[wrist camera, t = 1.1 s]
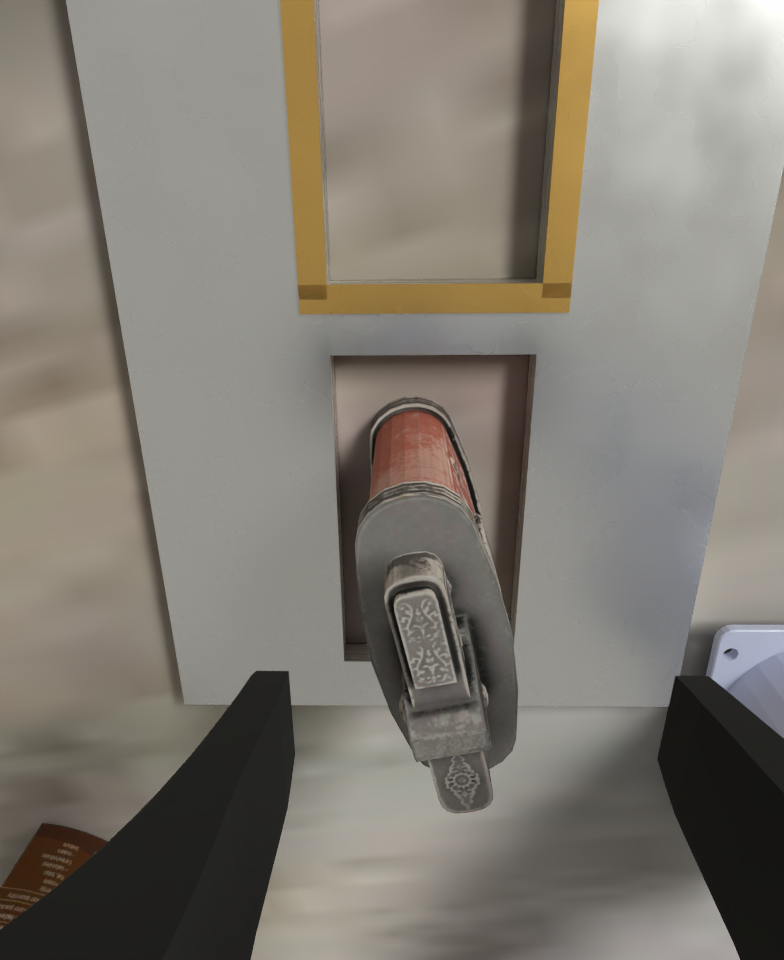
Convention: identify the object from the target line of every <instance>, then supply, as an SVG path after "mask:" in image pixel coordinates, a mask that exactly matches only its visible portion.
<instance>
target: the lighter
mask: <svg viewBox="0 0 784 960" xmlns="http://www.w3.org/2000/svg"><path fill="white" fill-rule="evenodd" d="M369 448H370V467H371V487H370V496H369V501H368V503H367V504H366V506H365V507H364V509H363V510H362V512H361V513H360V516H359V521H358V527H357V534H356V541H355V554H356V569H357V585H358V600H359V608H360V613H361V617H362V622H363V627H364V632H365V637H366V641H367V646H368V651H369V656H370V661H371V664H372V666H373V669H374V671H375V674H376V676H377V679H378V681H379V684H380V687H381V689H382V692H383V694H384V697H385V699H386V702H387V704H388V707H389V710H390V712H391V714H392V716H393V717H394V719H395V721H396V723H397V725H398V726H399V728H400V730H401V732H402V733H403V735H404V737H405V739H406V740H407V742H408V744H409V746H410V748H411V749H412V751H413V755H414V758H415V760H416V762H419V761H421V763H422V764H423V765H425V766H427V767H429V768H430V770H431V773H432V777H433V781H434V784H435V788H436V792H437V795H438V799H439V801H440V803H441V805H442V807H443V808H444V809H446V810H447V811H449V812H453V813H466V812H473V811H477V810H481V809H484V808H486V807H487V806H489V805H490V804H491V802H492V800H493V791H492V784H491V778H490V771H489V769H490V768H492V767H494V766H495V765H497V764H499V763H501V762H502V761H503V760H504V759H505V758H506V757H507V756H508V755H509V754H510V753H511V751H512V750H513V747H514V744H515V741H516V728H517V708H518V682H517V672H516V663H515V653H514V643H513V635H512V631H511V627H510V623H509V619H508V615H507V612H506V608H505V605H504V601H503V598H502V594H501V588H500V584H499V580H498V576H497V572H496V568H495V564H494V561H493V557H492V553H491V550H490V546H489V543H488V539H487V536H486V532H485V529H484V525H483V519H482V511H481V507H480V503H479V499H478V496H477V492H476V488H475V485H474V481H473V478H472V474H471V471H470V467H469V463H468V460H467V457H466V454H465V452H464V450H463V447H462V445H461V443H460V440H459V438H458V436H457V433H456V431H455V428H454V426H453V424H452V421H451V419H450V417H449V415H448V414H447V412H446V411H445V410H444V408H443V407H442V406H441V405H439V404H438V403H436V402H434V401H433V400H431V399H427V398H423V397H418V396H415V397H403V398H400V399H398V400H395V401H392V402H390V403H389V404H387V405H386V406H385V407H383V408H382V409H381V410H380V411H379V412H378V414H377V415H376V417H375V418H374V420H373V421H372V427H371V433H370V440H369Z"/></svg>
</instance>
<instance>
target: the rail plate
mask: <svg viewBox="0 0 784 960" xmlns="http://www.w3.org/2000/svg"><path fill="white" fill-rule="evenodd" d="M66 5H67V11H68V17H69V22H70V28H71V34H72V40H73V46H74V52H75V58H76V64H77V70H78V76H79V82H80V88H81V94H82V100H83V105H84V111H85V117H86V123H87V129H88V135H89V141H90V147H91V153H92V159H93V165H94V171H95V177H96V183H97V188H98V194H99V200H100V206H101V212H102V218H103V224H104V230H105V236H106V242H107V248H108V254H109V260H110V266H111V272H112V277H113V283H114V289H115V295H116V301H117V307H118V313H119V319H120V325H121V331H122V337H123V343H124V349H125V355H126V360H127V366H128V372H129V378H130V384H131V390H132V396H133V402H134V408H135V414H136V420H137V426H138V432H139V438H140V443H141V449H142V455H143V461H144V467H145V473H146V479H147V485H148V491H149V497H150V503H151V509H152V515H153V521H154V527H155V532H156V538H157V544H158V550H159V556H160V562H161V568H162V574H163V580H164V586H165V592H166V598H167V604H168V610H169V615H170V621H171V627H172V633H173V639H174V645H175V651H176V657H177V663H178V669H179V675H180V681H181V687H182V693H183V698H184V704H185V705H231V703H232V702H233V701H234V699H235V698H236V696H237V695H238V694H239V692H240V691H241V689H242V688H243V686H244V685H245V684H246V682H247V681H248V679H249V678H250V676H251V675H252V674H253V673H254V672H256V671H289V681H290V695H291V705H365V706H388V704H387V702H386V699H385V697H384V694H383V692H382V689H381V687H380V684H379V681H378V679H377V676H376V674H375V671H374V669H373V666H372V664H371V661H370V656H369V651H368V646H367V644H346V624H345V601H344V578H343V555H342V532H341V509H340V486H339V463H338V441H337V418H336V395H335V372H334V355H521V354H530V362H529V375H528V389H527V402H526V416H525V429H524V443H523V456H522V470H521V483H520V497H519V510H518V524H517V537H516V551H515V564H514V578H513V591H512V604H511V618H510V627H511V631H512V635H513V643H514V653H515V663H516V672H517V682H518V706H602V707H669V703H670V698H671V693H672V689H673V684H674V679H675V676H680V673H681V668H682V663H683V659H684V654H685V649H686V644H687V639H688V634H689V629H690V624H691V619H692V614H693V609H694V604H695V600H696V595H697V590H698V585H699V580H700V575H701V570H702V565H703V560H704V555H705V550H706V545H707V541H708V536H709V531H710V526H711V521H712V516H713V511H714V506H715V501H716V496H717V491H718V486H719V482H720V477H721V472H722V467H723V462H724V457H725V452H726V447H727V442H728V437H729V432H730V428H731V423H732V418H733V413H734V408H735V403H736V398H737V393H738V388H739V383H740V378H741V373H742V369H743V364H744V359H745V354H746V349H747V344H748V339H749V334H750V329H751V324H752V319H753V314H754V310H755V305H756V300H757V295H758V290H759V285H760V280H761V275H762V270H763V265H764V260H765V255H766V251H767V246H768V241H769V236H770V231H771V226H772V221H773V216H774V211H775V206H776V201H777V196H778V192H779V187H780V182H781V177H782V172H783V167H784V0H556V11H555V25H554V38H553V52H552V65H551V79H550V92H549V106H548V119H547V133H546V146H545V160H544V173H543V187H542V200H541V214H540V227H539V241H538V254H537V268H536V279H441V280H330V257H329V234H328V211H327V188H326V165H325V143H324V120H323V97H322V74H321V51H320V28H319V5H318V0H66Z"/></svg>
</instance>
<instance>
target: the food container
mask: <svg viewBox="0 0 784 960" xmlns="http://www.w3.org/2000/svg"><path fill="white" fill-rule="evenodd" d="M106 843H107V841H105V840H103V839H101V838H99V837H97V836H94V835H91V834H89V833H86V832H83V831H80V830H76V829H72V828H68V827H64V826H59V825H51V824H44V823H42V824H41V826H40V828H39V829H38V831H37V832H36V834H35V835H34V837H33V838H32V840H31V842H30V843H29V845H28V846H27V848H26V849H25V851H24V852H23V854H22V856H21V857H20V859H19V860H18V862H17V863H16V865H15V866H14V868H13V870H12V871H11V873H10V874H9V876H8V877H7V879H6V880H5V882H4V883H3V885H2V887H1V888H0V929H2V928H3V927H4V926H6V925H7V924H8V923H10V922H11V921H12V920H13V919H15V918H16V917H17V916H19V915H20V914H21V913H23V912H24V911H25V910H27V909H28V908H29V907H31V906H32V905H33V904H34V903H36V902H37V901H38V900H40V899H41V898H42V897H44V896H45V895H46V894H48V893H49V892H50V891H51V890H53V889H54V888H55V887H56V886H58V885H59V884H60V883H61V882H63V881H64V880H65V879H66V878H67V877H69V876H70V875H71V874H72V873H73V872H74V871H76V870H77V869H78V868H79V867H80V866H81V865H82V864H84V863H85V862H86V861H87V860H88V859H89V858H90V857H92V856H93V855H94V854H95V853H96V852H97V851H98V850H99V849H101V848H102V847H103V846H104V845H105V844H106Z"/></svg>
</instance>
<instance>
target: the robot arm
mask: <svg viewBox="0 0 784 960" xmlns="http://www.w3.org/2000/svg"><path fill="white" fill-rule="evenodd" d="M731 648H733V649H732V650H731V651H730V652H728V653H724V651H726V650H727V649H731ZM294 757H295V749H294V735H293V722H292V708H291V695H290V681H289V671H256V672H254V673H253V674H252V675H251V676H250V678H249V679H248V681H247V682H246V684H245V685H244V686H243V688H242V689H241V691H240V692H239V694H238V695H237V696H236V698H235V699H234V701H233V702H232V703H231V705H230V706H229V707H228V709H227V710H226V711H225V713H224V714H223V715H222V717H221V718H220V719H219V721H218V722H217V723H216V725H215V726H214V727H213V728H212V730H211V731H210V732H209V733H208V735H207V736H206V737H205V738H204V740H203V741H202V742H201V743H200V745H199V746H198V747H197V748H196V750H195V751H194V752H193V753H192V755H191V756H190V757H189V758H188V759H187V760H186V762H185V763H184V764H183V765H182V766H181V767H180V768H179V769H178V771H177V772H176V773H175V774H174V775H173V776H172V777H171V778H170V780H169V781H168V782H167V783H166V784H165V785H164V786H163V787H162V788H161V790H160V791H159V792H158V793H157V794H156V795H155V796H154V797H153V798H152V799H151V800H150V801H149V802H148V803H147V804H146V805H145V806H144V808H143V809H142V810H141V811H140V812H139V813H138V814H137V815H136V816H135V817H134V818H133V819H132V820H131V821H129V822H128V823H127V824H126V825H125V826H124V827H123V828H122V829H121V830H120V831H119V832H118V833H117V834H116V835H115V836H114V837H113V838H112V839H111V840H110V841H108V842H107V843H106V844H105V845H104V846H103V847H102V848H101V849H99V850H98V851H97V852H96V853H95V854H94V855H93V856H92V857H90V858H89V859H88V860H87V861H86V862H85V863H84V864H82V865H81V866H80V867H79V868H78V869H77V870H76V871H74V872H73V873H72V874H71V875H70V876H69V877H67V878H66V879H65V880H64V881H63V882H61V883H60V884H59V885H58V886H56V887H55V888H54V889H53V890H51V891H50V892H49V893H48V894H46V895H45V896H44V897H42V898H41V899H40V900H38V901H37V902H36V903H34V904H33V905H32V906H31V907H29V908H28V909H27V910H25V911H24V912H23V913H21V914H20V915H19V916H17V917H16V918H15V919H13V920H12V921H11V922H10V923H8V924H7V925H6V926H4V927H3V928H2V929H0V960H250V959H251V955H252V950H253V945H254V940H255V936H256V931H257V928H258V924H259V920H260V916H261V912H262V908H263V904H264V900H265V896H266V892H267V888H268V884H269V880H270V876H271V872H272V868H273V864H274V860H275V856H276V852H277V848H278V844H279V840H280V836H281V832H282V828H283V824H284V820H285V816H286V812H287V807H288V801H289V794H290V787H291V780H292V772H293V764H294ZM658 762H659V766H660V769H661V772H662V776H663V779H664V782H665V786H666V789H667V792H668V795H669V798H670V801H671V804H672V807H673V810H674V813H675V815H676V818H677V820H678V822H679V825H680V827H681V829H682V831H683V834H684V836H685V838H686V840H687V842H688V845H689V847H690V849H691V851H692V853H693V856H694V858H695V860H696V862H697V864H698V867H699V869H700V871H701V873H702V875H703V877H704V880H705V882H706V884H707V886H708V888H709V891H710V893H711V895H712V897H713V899H714V901H715V904H716V906H717V908H718V910H719V912H720V914H721V917H722V919H723V921H724V923H725V925H726V927H727V930H728V932H729V934H730V936H731V938H732V941H733V943H734V945H735V948H736V950H737V952H738V955H739V957H740V960H784V625H726V626H724V627H722V628H720V629H719V630H718V631H717V632H716V634H715V636H714V641H713V645H712V650H711V654H710V659H709V663H708V668H707V672H706V676H675V679H674V684H673V689H672V693H671V698H670V703H669V707H668V712H667V717H666V722H665V726H664V731H663V736H662V740H661V745H660V750H659V754H658Z"/></svg>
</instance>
